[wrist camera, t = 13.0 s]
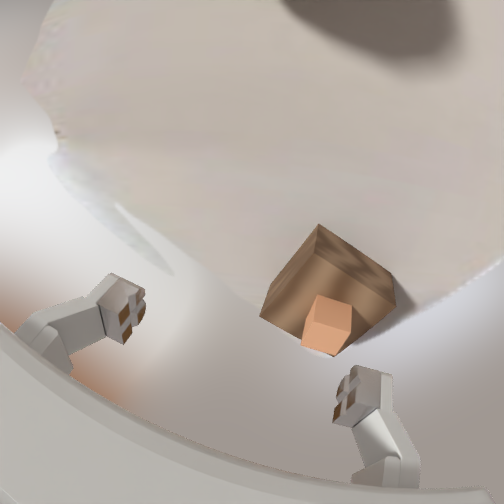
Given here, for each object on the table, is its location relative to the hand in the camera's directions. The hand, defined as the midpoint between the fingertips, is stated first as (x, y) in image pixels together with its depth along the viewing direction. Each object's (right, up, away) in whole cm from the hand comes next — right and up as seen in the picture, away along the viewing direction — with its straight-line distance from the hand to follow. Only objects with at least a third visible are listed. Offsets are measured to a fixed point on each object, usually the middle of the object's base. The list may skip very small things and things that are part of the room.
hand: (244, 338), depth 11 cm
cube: (+11, -5, +30) cm, 32 cm away
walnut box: (+13, -1, +37) cm, 39 cm away
